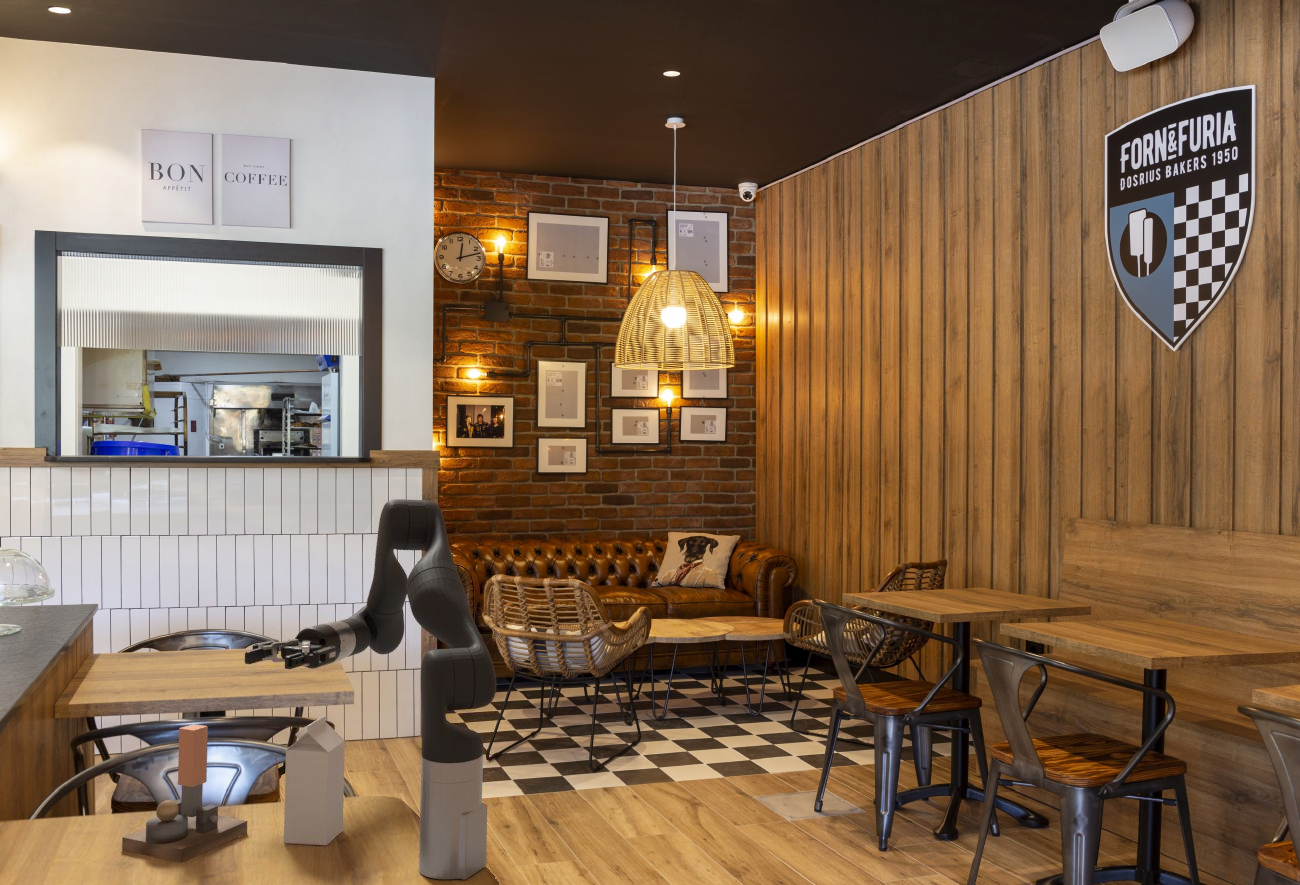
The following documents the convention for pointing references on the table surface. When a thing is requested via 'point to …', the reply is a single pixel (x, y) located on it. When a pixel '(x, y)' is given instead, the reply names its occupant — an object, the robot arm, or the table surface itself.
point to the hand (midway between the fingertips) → (266, 660)
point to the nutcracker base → (189, 842)
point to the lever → (192, 767)
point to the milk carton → (314, 785)
